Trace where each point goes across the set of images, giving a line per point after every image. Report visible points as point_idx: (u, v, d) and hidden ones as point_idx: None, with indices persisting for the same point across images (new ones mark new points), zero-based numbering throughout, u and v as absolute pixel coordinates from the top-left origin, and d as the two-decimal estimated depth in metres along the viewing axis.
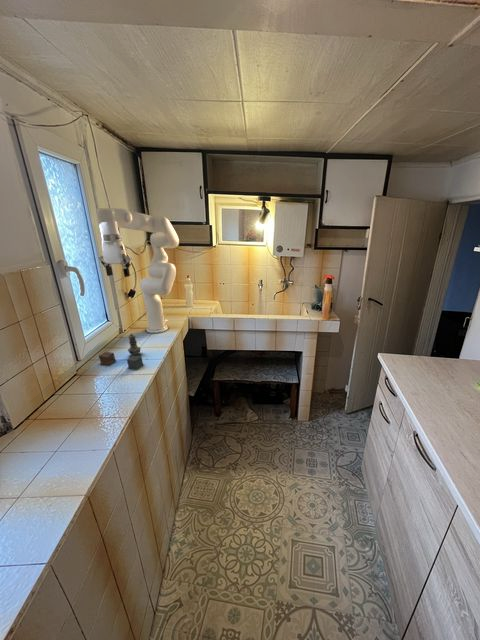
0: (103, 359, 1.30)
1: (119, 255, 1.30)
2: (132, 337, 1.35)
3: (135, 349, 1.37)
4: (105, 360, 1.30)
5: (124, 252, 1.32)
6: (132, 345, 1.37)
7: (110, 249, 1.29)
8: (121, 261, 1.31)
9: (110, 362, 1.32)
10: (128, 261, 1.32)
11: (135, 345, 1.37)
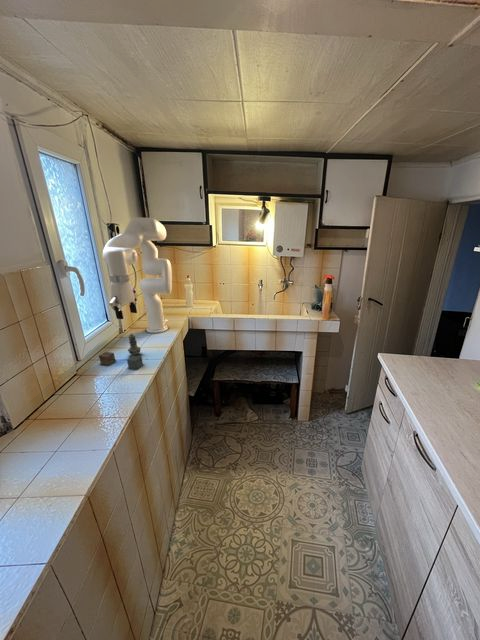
0: (103, 359, 1.30)
1: (133, 292, 1.31)
2: (132, 337, 1.35)
3: (135, 349, 1.37)
4: (105, 360, 1.30)
5: None
6: (132, 345, 1.37)
7: (127, 289, 1.27)
8: (134, 298, 1.33)
9: (110, 362, 1.32)
10: (135, 296, 1.36)
11: (135, 345, 1.37)
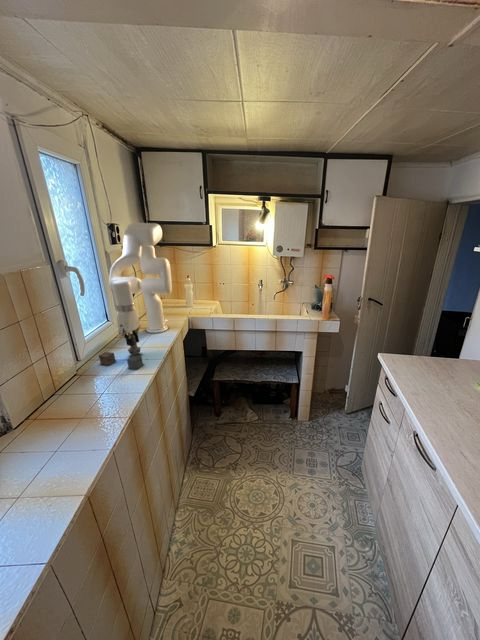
0: (103, 359, 1.30)
1: (138, 319, 1.37)
2: (132, 337, 1.35)
3: (135, 349, 1.37)
4: (105, 360, 1.30)
5: None
6: None
7: (133, 317, 1.32)
8: (139, 324, 1.38)
9: (110, 362, 1.32)
10: (138, 327, 1.39)
11: (135, 345, 1.37)
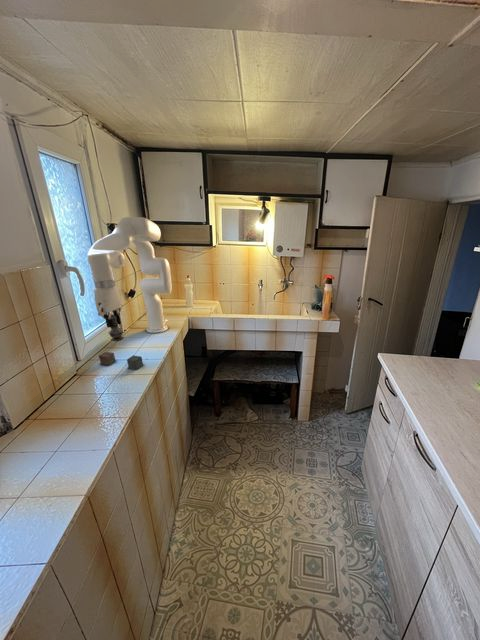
0: (103, 359, 1.30)
1: None
2: (113, 318, 1.22)
3: (116, 331, 1.24)
4: (105, 360, 1.30)
5: None
6: None
7: (113, 295, 1.18)
8: (121, 304, 1.24)
9: (110, 362, 1.32)
10: (120, 307, 1.26)
11: (116, 327, 1.24)
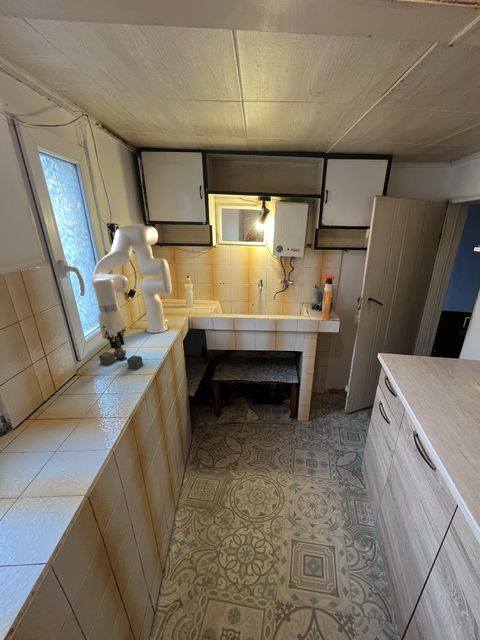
0: (103, 359, 1.30)
1: (123, 320, 1.27)
2: (116, 339, 1.25)
3: (120, 352, 1.27)
4: (105, 360, 1.30)
5: None
6: None
7: (117, 317, 1.22)
8: (124, 326, 1.28)
9: (110, 362, 1.32)
10: (124, 328, 1.29)
11: (120, 348, 1.27)
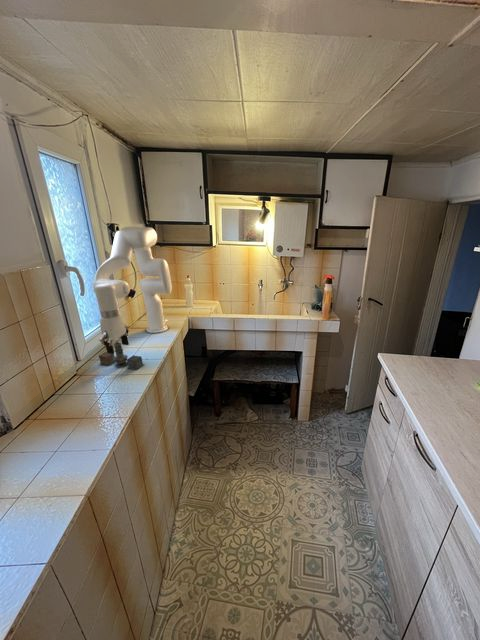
0: (103, 359, 1.30)
1: (124, 325, 1.28)
2: (118, 345, 1.27)
3: (121, 358, 1.29)
4: (105, 360, 1.30)
5: None
6: (118, 354, 1.28)
7: (118, 323, 1.23)
8: (125, 330, 1.29)
9: (110, 362, 1.32)
10: (127, 328, 1.32)
11: (121, 354, 1.29)
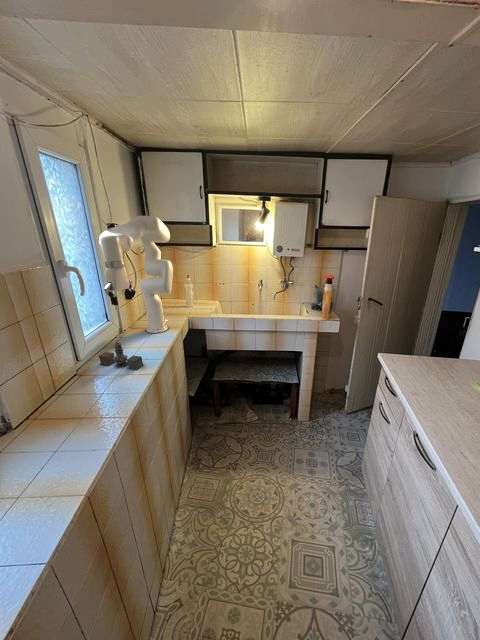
0: (103, 359, 1.30)
1: (128, 279, 1.32)
2: (118, 345, 1.27)
3: (121, 358, 1.29)
4: (105, 360, 1.30)
5: None
6: (118, 354, 1.28)
7: (122, 275, 1.28)
8: (129, 285, 1.33)
9: (110, 362, 1.32)
10: (130, 283, 1.36)
11: (121, 354, 1.29)
